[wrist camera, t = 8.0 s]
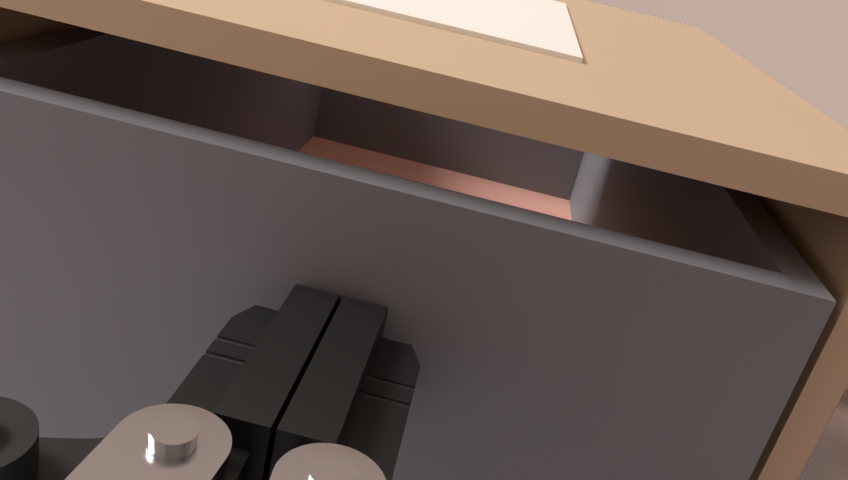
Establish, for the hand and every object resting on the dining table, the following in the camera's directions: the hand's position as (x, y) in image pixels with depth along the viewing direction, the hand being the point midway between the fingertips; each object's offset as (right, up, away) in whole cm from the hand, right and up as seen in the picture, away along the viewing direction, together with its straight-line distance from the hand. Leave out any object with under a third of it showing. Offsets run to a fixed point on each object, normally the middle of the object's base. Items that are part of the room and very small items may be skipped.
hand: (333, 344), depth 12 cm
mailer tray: (0, 0, +14) cm, 14 cm away
